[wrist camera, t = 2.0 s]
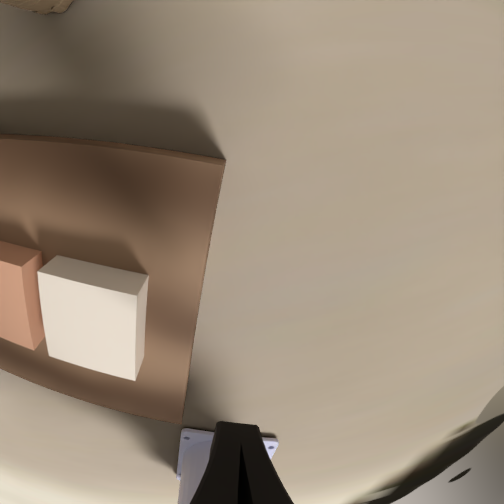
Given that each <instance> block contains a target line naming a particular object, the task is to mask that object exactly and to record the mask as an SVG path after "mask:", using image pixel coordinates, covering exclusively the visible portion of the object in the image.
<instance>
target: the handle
mask: <svg viewBox="0 0 504 504" xmlns="http://www.w3.org/2000/svg"><path fill="white" fill-rule="evenodd" d="M73 1H74V0H0V2H2V3H5V4H8V5H11V6H14V7H18V8H21V9H25V10H32V11H33V12H35V13H39V14H44V15H46V14H48V13H50V12H57V13H62V12H64V11H65V10H67V9H68V6H69V5H70V4H71V3H72V2H73Z"/></svg>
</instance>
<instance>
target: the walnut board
mask: <svg viewBox="0 0 504 504" xmlns="http://www.w3.org/2000/svg"><path fill="white" fill-rule="evenodd" d="M225 163H226V160H224V159H219V158H213V157H208V156H202V155H196V154H191V153H185V152H179V151H172V150H166V149H159V148H153V147H146V146H138V145H131V144H123V143H115V142H106V141H97V140H87V139H76V138H65V137H52V136H37V135H17V134H0V241H3V242H7V243H11V244H15V245H19V246H23V247H27V248H31V249H35V250H39V251H42V263H43V266H44V265H46V264H47V263H48V262H49V261H50V260H52V259H53V258H54V257H55V256H57V255H59V256H64V257H68V258H72V259H77V260H81V261H85V262H90V263H94V264H99V265H103V266H108V267H112V268H117V269H122V270H126V271H131V272H136V273H141V274H145V275H149V278H148V291H147V305H146V321H145V344H144V358H143V361H142V364H141V367H140V369H139V372H138V375H137V378H136V381H133V380H129V379H125V378H121V377H117V376H113V375H110V374H106V373H102V372H99V371H95V370H92V369H88V368H85V367H82V366H78V365H75V364H72V363H69V362H66V361H63V360H60V359H57V358H54V357H51V356H49V353H48V348H47V343H46V337H44V338H43V340H42V341H41V342H40V344H39V345H38V346H37V348H36V349H35V350H31V349H29V348H26V347H23V346H21V345H18V344H16V343H13V342H11V341H8V340H6V339H4V338H1V337H0V369H3V370H5V371H7V372H9V373H12V374H14V375H16V376H18V377H21V378H23V379H26V380H28V381H30V382H33V383H35V384H38V385H41V386H43V387H46V388H48V389H51V390H54V391H57V392H59V393H62V394H65V395H68V396H71V397H74V398H77V399H80V400H83V401H86V402H90V403H93V404H96V405H100V406H103V407H107V408H110V409H114V410H118V411H122V412H125V413H129V414H133V415H138V416H142V417H146V418H151V419H155V420H160V421H165V422H170V423H176V424H182V417H183V411H184V404H185V398H186V391H187V384H188V377H189V369H190V362H191V355H192V349H193V342H194V335H195V329H196V322H197V316H198V310H199V304H200V297H201V291H202V285H203V280H204V274H205V268H206V262H207V257H208V251H209V246H210V240H211V235H212V229H213V224H214V219H215V213H216V208H217V203H218V198H219V193H220V188H221V183H222V178H223V173H224V168H225Z"/></svg>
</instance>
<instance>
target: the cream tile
mask: <svg viewBox="0 0 504 504" xmlns="http://www.w3.org/2000/svg"><path fill="white" fill-rule="evenodd" d="M37 273H38V285H39V294H40V303H41V311H42V318H43V325H44V331H45V337H46V343H47V348H48V353H49V356H51V357H54V358H57V359H60V360H63V361H66V362H69V363H72V364H75V365H78V366H82V367H85V368H88V369H92V370H95V371H99V372H102V373H106V374H110V375H113V376H117V377H121V378H125V379H129V380H133V381H136V378H137V375H138V372H139V369H140V367H141V364H142V361H143V358H144V344H145V321H146V305H147V291H148V278H149V275H145V274H141V273H136V272H131V271H126V270H122V269H117V268H112V267H108V266H103V265H99V264H94V263H90V262H85V261H81V260H77V259H72V258H68V257H64V256H59V255H57V256H55V257H54V258H53V259H52V260H50V261H49V262H48V263H47V264H46V265H44V266H43V267H42V268H41V269H40V270H38V271H37Z"/></svg>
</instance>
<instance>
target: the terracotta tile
mask: <svg viewBox="0 0 504 504" xmlns="http://www.w3.org/2000/svg"><path fill="white" fill-rule="evenodd" d="M42 267H43V263H42V251H39V250H35V249H31V248H27V247H23V246H19V245H15V244H11V243H7V242H3V241H0V337H1V338H4V339H6V340H8V341H11V342H13V343H16V344H18V345H21V346H23V347H26V348H29V349H31V350H35V349H36V348H37V346H38V345H39V344H40V342H41V341H42V340H43V338H44V337H45V331H44V325H43V318H42V311H41V303H40V294H39V285H38V273H37V271H38V270H40V269H41V268H42Z"/></svg>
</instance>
